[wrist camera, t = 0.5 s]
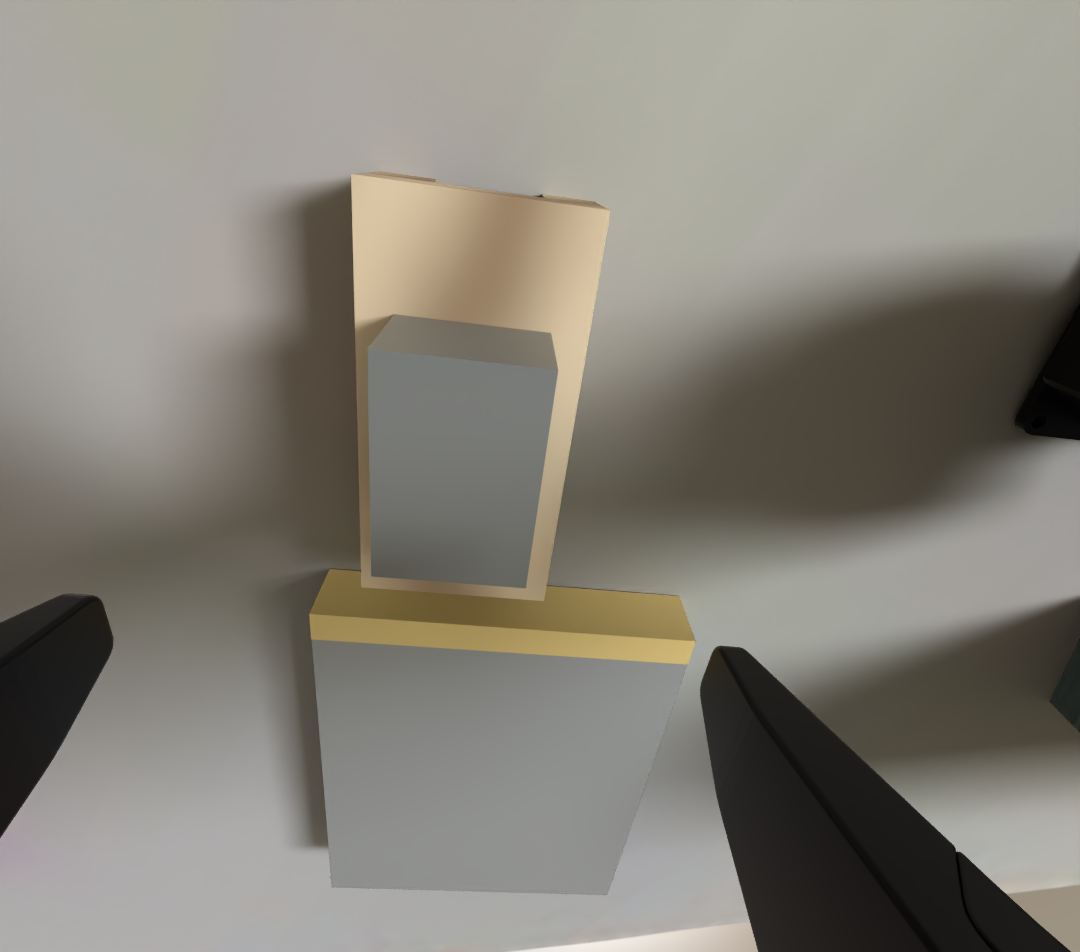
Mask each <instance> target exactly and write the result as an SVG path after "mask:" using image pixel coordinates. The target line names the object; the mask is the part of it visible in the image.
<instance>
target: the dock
mask: <svg viewBox="0 0 1080 952" xmlns="http://www.w3.org/2000/svg"><path fill="white" fill-rule="evenodd" d="M309 620H310V632H311V639H312V651H313V663H314V676H315V688H316V700H317V712H318V724H319V737H320V749H321V761H322V773H323V786H324V798H325V810H326V822H327V834H328V847H329V859H330V871H331V883H332V887H337V888H373V889H408V890H444V891H479V892H515V893H551V894H586V895H607V894H608V891H609V889H610V886H611V883H612V880H613V877H614V874H615V871H616V868H617V866H618V863H619V860H620V857H621V854H622V851H623V848H624V845H625V843H626V840H627V837H628V834H629V831H630V828H631V825H632V822H633V819H634V817H635V814H636V811H637V808H638V805H639V802H640V799H641V796H642V794H643V791H644V788H645V785H646V782H647V779H648V776H649V773H650V771H651V768H652V765H653V762H654V759H655V756H656V753H657V750H658V748H659V745H660V742H661V739H662V736H663V733H664V730H665V727H666V725H667V722H668V719H669V716H670V713H671V710H672V707H673V704H674V702H675V699H676V696H677V693H678V690H679V687H680V684H681V681H682V678H683V676H684V673H685V670H686V667H687V665H688V663H689V660H690V657H691V654H692V651H693V648H694V646H695V643H696V640H695V638H694V635H693V632H692V630H691V627H690V624H689V622H688V619H687V616H686V614H685V611H684V608H683V605H682V603H681V600H680V597H679V596H671V595H658V594H645V593H632V592H619V591H607V590H594V589H581V588H568V587H555V586H547V587H546V593H545V599H544V601H536V600H523V599H510V598H497V597H483V596H470V595H457V594H444V593H430V592H417V591H404V590H391V589H378V588H364V587H361V571H351V570H338V569H329V572H328V574H327V576H326V578H325V580H324V583H323V585H322V587H321V589H320V591H319V593H318V596H317V598H316V600H315V602H314V604H313V607H312V609H311V611H310V613H309Z"/></svg>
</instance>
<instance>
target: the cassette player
mask: <svg viewBox="0 0 1080 952" xmlns="http://www.w3.org/2000/svg"><path fill="white" fill-rule="evenodd" d="M1050 702H1051V703H1052V704H1053V705H1054V706H1055V707H1056V708H1057V709H1058V711H1059V712H1060V713H1061V714H1062V715H1063V716H1064V717H1065V718H1066V719H1067V720H1068V721H1069V722H1070V723H1071V724H1072V725H1073V726H1074V727H1075V728H1076V729H1077V730H1078V731H1079V732H1080V639H1079V641H1078V643H1077V645H1076V648H1075V650H1074V652H1073V654H1072V656H1071V658H1070V660H1069V662H1068V664H1067V666H1066V668H1065V671H1064V673H1063V675H1062V677H1061V679H1060V681H1059V683H1058V685H1057V687H1056V689H1055V691H1054V693H1053V696H1052V698H1051V700H1050Z"/></svg>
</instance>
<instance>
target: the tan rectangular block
mask: <svg viewBox="0 0 1080 952" xmlns="http://www.w3.org/2000/svg"><path fill="white" fill-rule="evenodd" d="M351 190H352V230H353V270H354V310H355V351H356V391H357V431H358V471H359V511H360V551H361V587H364V588H378V589H391V590H404V591H417V592H430V593H444V594H457V595H470V596H483V597H497V598H510V599H523V600H536V601H544V599H545V593H546V587H547V581H548V575H549V569H550V563H551V558H552V552H553V546H554V540H555V534H556V528H557V522H558V517H559V511H560V505H561V499H562V493H563V487H564V481H565V475H566V470H567V464H568V458H569V452H570V446H571V440H572V434H573V429H574V423H575V417H576V411H577V405H578V399H579V393H580V388H581V382H582V376H583V370H584V364H585V358H586V352H587V347H588V341H589V335H590V329H591V323H592V317H593V311H594V306H595V300H596V294H597V288H598V282H599V276H600V270H601V264H602V259H603V253H604V247H605V241H606V235H607V229H608V223H609V218H610V212H611V210H609V209H607V208H605V207H603V206H601V205H599V204H597V203H596V202H592V201H585V200H578V199H571V198H564V197H557V196H550V195H543V194H542V198H541V197H534V196H527V195H520V194H513V193H506V192H499V191H492V190H485V189H477V188H470V187H463V186H456V185H449V184H442V183H436V179H430V178H423V177H416V176H409V175H402V174H395V173H388V172H370V173H358V174H351ZM394 314H397V315H405V316H413V317H422V318H430V319H439V320H447V321H455V322H464V323H472V324H481V325H489V326H497V327H506V328H514V329H523V330H531V331H539V332H548V333H551V335H552V340H553V345H554V351H555V356H556V361H557V366H558V376H557V383H556V389H555V396H554V403H553V409H552V416H551V423H550V430H549V436H548V443H547V450H546V456H545V463H544V470H543V477H542V483H541V490H540V497H539V503H538V510H537V517H536V524H535V530H534V537H533V544H532V550H531V557H530V564H529V571H528V577H527V584H526V588H514V587H501V586H488V585H475V584H462V583H449V582H436V581H423V580H410V579H397V578H384V577H371V534H370V471H369V408H368V347H369V346H370V345H371V344H372V342H373V341H374V340H375V338H376V337H377V336H378V335H379V333H380V332H381V331H382V330H383V328H384V327H385V326H386V324H387V323H388V322H389V321H390V319H391V318H392V317H393V316H394Z"/></svg>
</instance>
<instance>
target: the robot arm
mask: <svg viewBox="0 0 1080 952" xmlns="http://www.w3.org/2000/svg"><path fill="white" fill-rule="evenodd" d="M1035 417H1037V418H1036V419H1035V420H1034V421H1033V422H1032V420H1033V419H1034V418H1035ZM1015 425H1016V426H1017V428H1018V429H1020V430H1022V431H1024V432H1026V433H1028V434H1031V435H1038V436H1047V437H1056V438H1065V439H1074V440H1080V304H1079V306H1078V308H1077V310H1076V312H1075V313H1074V315H1073V317H1072V319H1071V320H1070V322H1069V324H1068V326H1067V327H1066V329H1065V331H1064V333H1063V335H1062V336H1061V338H1060V340H1059V342H1058V343H1057V345H1056V347H1055V349H1054V350H1053V352H1052V354H1051V356H1050V358H1049V359H1048V361H1047V363H1046V365H1045V366H1044V368H1043V370H1042V372H1041V374H1040V375H1039V377H1038V379H1037V381H1036V382H1035V384H1034V386H1033V388H1032V389H1031V391H1030V393H1029V395H1028V397H1027V398H1026V400H1025V402H1024V404H1023V405H1022V407H1021V409H1020V411H1019V412H1018V414H1017V416H1016V419H1015ZM112 648H113V635H112V631H111V628H110V625H109V622H108V618H107V615H106V612H105V609H104V605H103V603H102V601H101V600H100V599H99V598H98V597H97V596H94V595H84V594H71V593H70V594H63V595H60V596H57V597H55V598H53V599H51V600H49V601H46V602H44V603H42V604H40V605H38V606H36V607H33V608H31V609H29V610H27V611H25V612H23V613H20V614H18V615H16V616H14V617H12V618H10V619H7V620H5V621H3V622H1V623H0V838H1V836H2V835H3V833H4V832H5V830H6V829H7V827H8V826H9V824H10V823H11V821H12V820H13V818H14V817H15V815H16V814H17V812H18V811H19V809H20V808H21V807H22V805H23V804H24V802H25V801H26V799H27V798H28V796H29V795H30V793H31V792H32V790H33V789H34V787H35V786H36V784H37V783H38V781H39V780H40V778H41V777H42V775H43V774H44V772H45V771H46V769H47V768H48V766H49V764H50V763H51V761H52V760H53V758H54V757H55V755H56V753H57V751H58V750H59V748H60V746H61V745H62V743H63V741H64V739H65V738H66V736H67V734H68V732H69V730H70V728H71V726H72V725H73V723H74V721H75V719H76V717H77V715H78V714H79V712H80V710H81V708H82V706H83V704H84V703H85V701H86V699H87V697H88V695H89V693H90V691H91V690H92V688H93V686H94V684H95V682H96V680H97V679H98V677H99V675H100V673H101V671H102V669H103V667H104V666H105V664H106V662H107V660H108V658H109V656H110V654H111V651H112ZM700 697H701V704H702V710H703V717H704V723H705V729H706V735H707V741H708V748H709V754H710V760H711V766H712V772H713V779H714V784H715V790H716V795H717V799H718V804H719V808H720V812H721V816H722V819H723V823H724V827H725V831H726V834H727V838H728V842H729V845H730V849H731V853H732V856H733V860H734V864H735V868H736V871H737V875H738V879H739V882H740V886H741V890H742V893H743V897H744V901H745V905H746V908H747V912H748V916H749V919H750V923H751V927H752V930H753V934H754V937H755V941H756V945H757V949H758V952H1071V951H1070V950H1068V949H1067V948H1066V947H1065V946H1064V945H1063V944H1061V943H1060V942H1059V941H1058V940H1057V939H1056V938H1055V937H1053V936H1052V935H1051V934H1050V933H1049V932H1048V931H1046V930H1045V929H1044V928H1043V927H1042V926H1041V925H1040V924H1038V923H1037V922H1036V921H1035V920H1034V919H1033V918H1032V917H1031V916H1030V915H1028V914H1027V913H1026V912H1025V911H1024V910H1023V909H1022V908H1021V907H1020V906H1019V905H1018V904H1016V903H1015V902H1014V901H1013V900H1012V899H1011V898H1010V897H1009V896H1008V895H1007V894H1006V893H1004V892H1003V891H1002V890H1001V889H1000V888H999V887H998V886H997V885H996V884H995V883H993V882H992V881H991V880H990V879H989V878H988V877H987V876H986V875H985V874H984V873H983V872H982V871H981V870H980V869H978V868H977V867H976V866H975V865H974V864H973V863H972V862H971V861H970V860H969V859H968V858H967V857H966V856H965V855H964V854H962V853H961V852H956V849H955V847H954V845H953V844H952V843H951V842H949V841H948V840H947V839H946V838H945V837H944V836H943V835H942V834H941V833H940V832H939V831H938V830H937V829H936V828H935V827H934V826H932V825H931V824H930V823H929V822H928V821H927V820H926V819H925V818H924V817H923V816H922V815H921V814H920V813H919V812H918V811H917V810H915V809H914V808H913V807H912V806H911V805H910V804H909V803H908V802H907V801H906V800H905V799H904V798H903V797H902V796H901V795H899V794H898V793H897V792H896V791H895V790H894V789H893V788H892V787H891V786H890V785H889V784H888V783H887V782H886V781H885V780H884V779H882V778H881V777H880V776H879V775H878V774H877V773H876V772H875V771H874V770H873V769H872V768H871V767H870V766H869V765H868V764H867V763H865V762H864V761H863V760H862V759H861V758H860V757H859V756H858V755H857V754H856V753H855V752H854V751H853V750H852V749H851V748H850V747H848V746H847V745H846V744H845V743H844V742H843V741H842V740H841V739H840V738H839V737H838V736H837V735H836V734H835V733H834V732H832V731H831V730H830V729H829V728H828V727H827V726H826V725H825V724H824V723H823V722H822V721H821V720H820V719H819V718H818V717H817V716H815V715H814V714H813V713H812V712H811V711H810V710H809V709H808V708H807V707H806V706H805V705H804V704H803V703H802V702H801V701H800V700H798V699H797V698H796V697H795V696H794V695H793V694H792V693H791V692H790V691H789V690H788V689H787V688H786V687H785V686H784V685H783V684H781V683H780V682H779V681H778V680H777V679H776V678H775V677H774V676H773V675H772V674H771V673H770V672H769V671H768V670H767V669H765V668H764V667H763V666H762V665H761V664H760V663H759V662H758V661H757V660H756V659H755V658H754V657H753V656H752V655H751V654H750V653H748V652H747V651H746V650H745V649H743V648H740V647H730V646H718V647H716V648H715V649H714V651H713V652H712V655H711V658H710V660H709V663H708V666H707V668H706V671H705V674H704V676H703V679H702V682H701V687H700Z"/></svg>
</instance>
